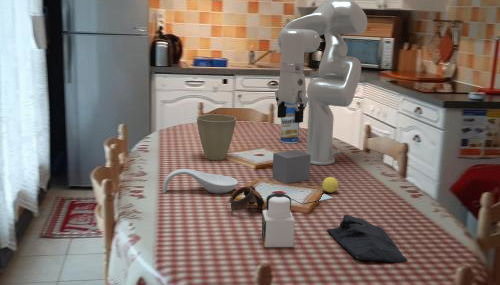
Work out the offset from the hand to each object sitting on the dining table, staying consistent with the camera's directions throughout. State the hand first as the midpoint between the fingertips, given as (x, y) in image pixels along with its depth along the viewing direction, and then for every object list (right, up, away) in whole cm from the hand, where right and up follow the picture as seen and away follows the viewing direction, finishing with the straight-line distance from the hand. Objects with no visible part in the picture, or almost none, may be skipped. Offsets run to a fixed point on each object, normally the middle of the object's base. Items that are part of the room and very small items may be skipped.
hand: (289, 119), depth 188 cm
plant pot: (-27, -14, +29) cm, 42 cm away
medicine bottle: (-7, -32, -49) cm, 59 cm away
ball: (+12, -21, -10) cm, 26 cm away
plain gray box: (+1, -20, +5) cm, 21 cm away
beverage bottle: (+4, -8, +60) cm, 61 cm away
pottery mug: (-14, -27, -27) cm, 41 cm away
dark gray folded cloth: (+15, -34, -49) cm, 61 cm away
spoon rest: (-29, -23, -11) cm, 39 cm away
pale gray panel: (+5, -24, -14) cm, 28 cm away
